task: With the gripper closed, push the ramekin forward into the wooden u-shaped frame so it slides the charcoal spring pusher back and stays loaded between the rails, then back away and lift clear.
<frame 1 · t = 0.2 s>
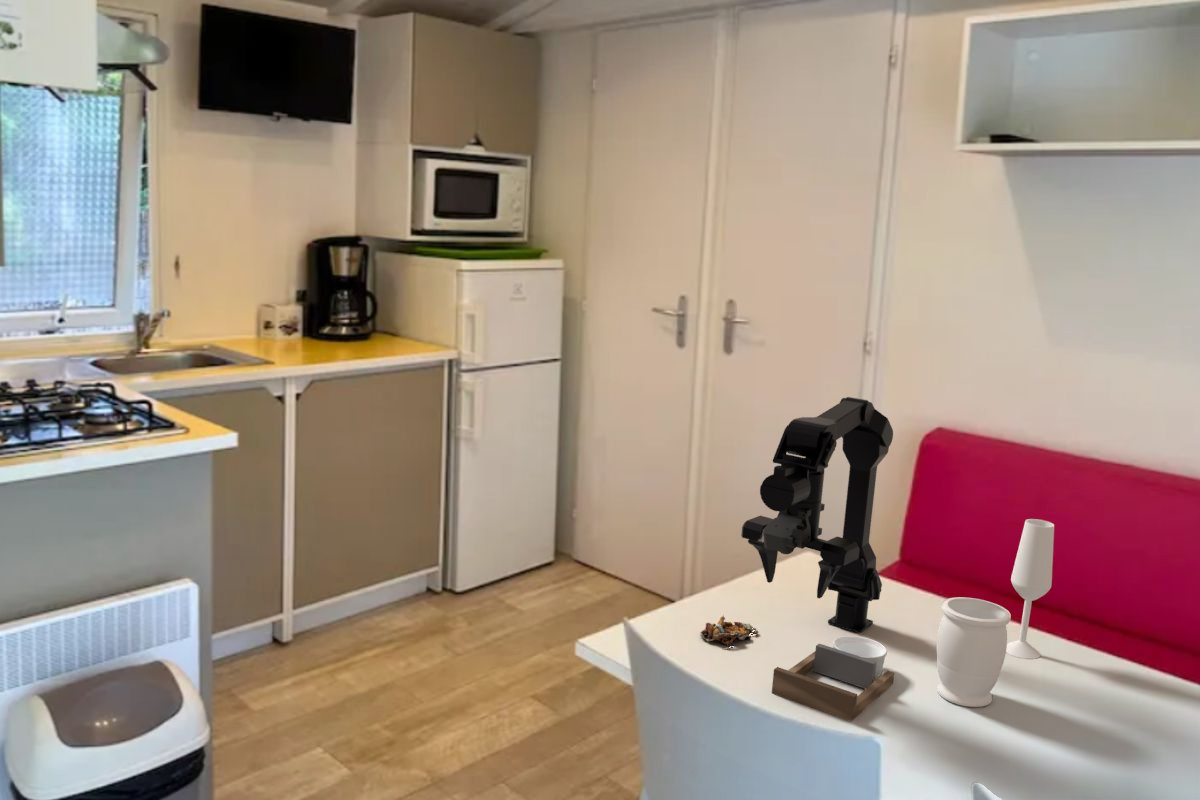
hand: (794, 589, 171), 14 cm above the table, tool pointing down, fingers open, 9 cm apart
jar: (963, 697, 168), on the table
champagne flute: (1020, 651, 188), on the table
wooden u-shaped frame: (835, 687, 169), on the table
grilled meat platter: (729, 638, 187), on the table
ramekin: (857, 671, 176), on the table
pusher: (844, 666, 171), point 3 cm above the table, slide at 0.0 cm
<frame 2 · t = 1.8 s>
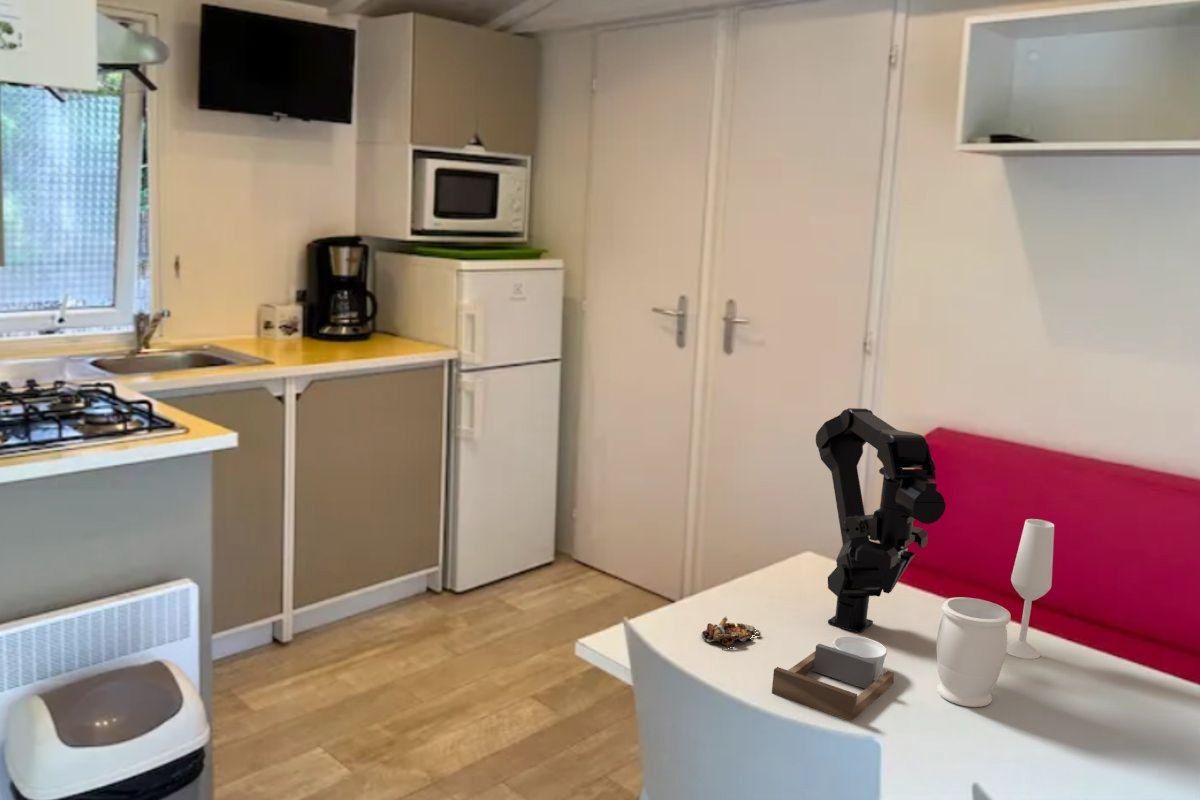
hand: (887, 592, 182), 11 cm above the table, tool pointing down, fingers closed
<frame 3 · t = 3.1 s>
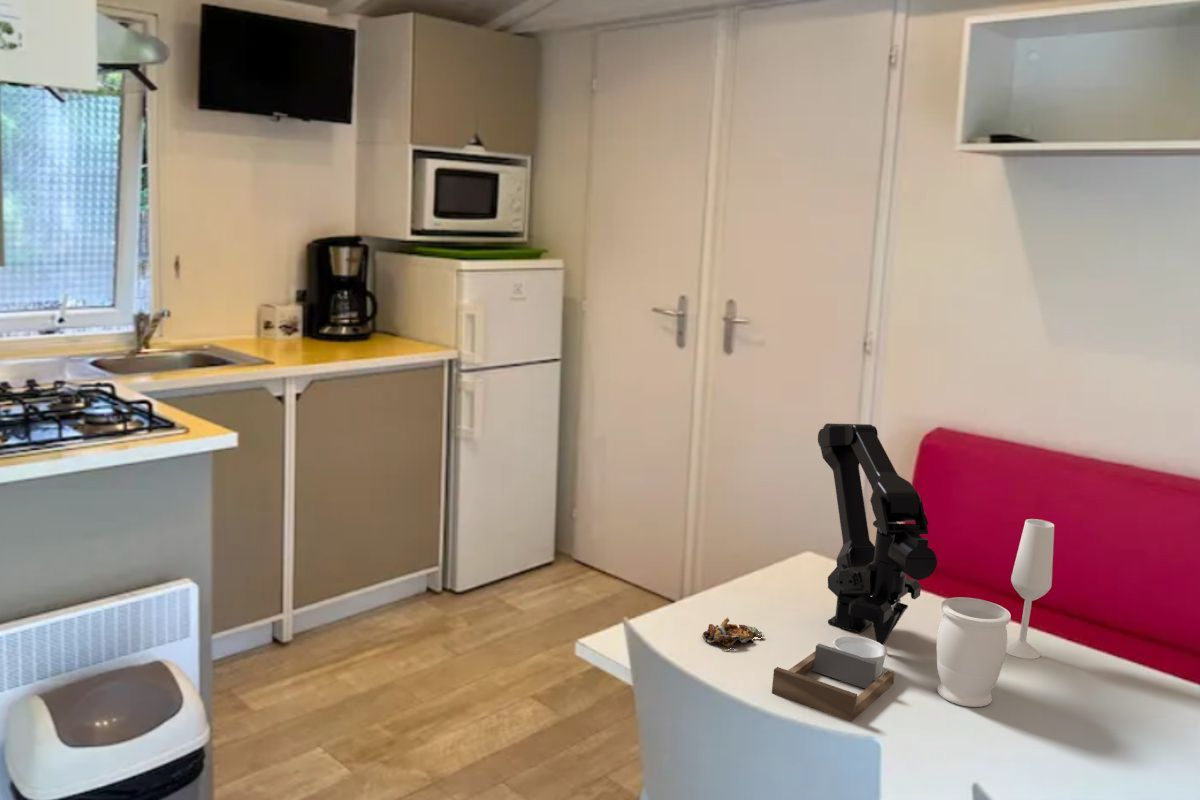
hand: (880, 643, 183), 2 cm above the table, tool pointing down, fingers closed
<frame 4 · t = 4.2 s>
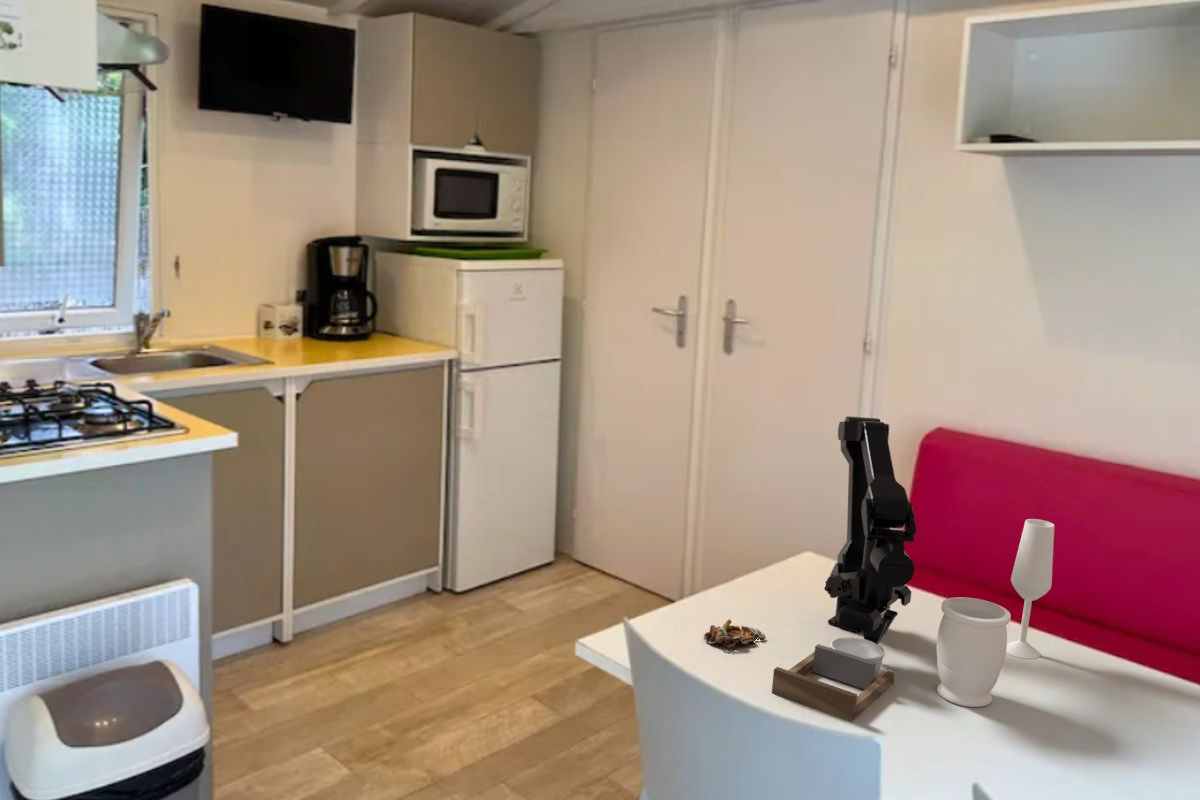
hand: (870, 651, 179), 2 cm above the table, tool pointing down, fingers closed
ramekin: (854, 672, 175), on the table, touching gripper
pusher: (844, 666, 170), point 3 cm above the table, slide at 0.3 cm
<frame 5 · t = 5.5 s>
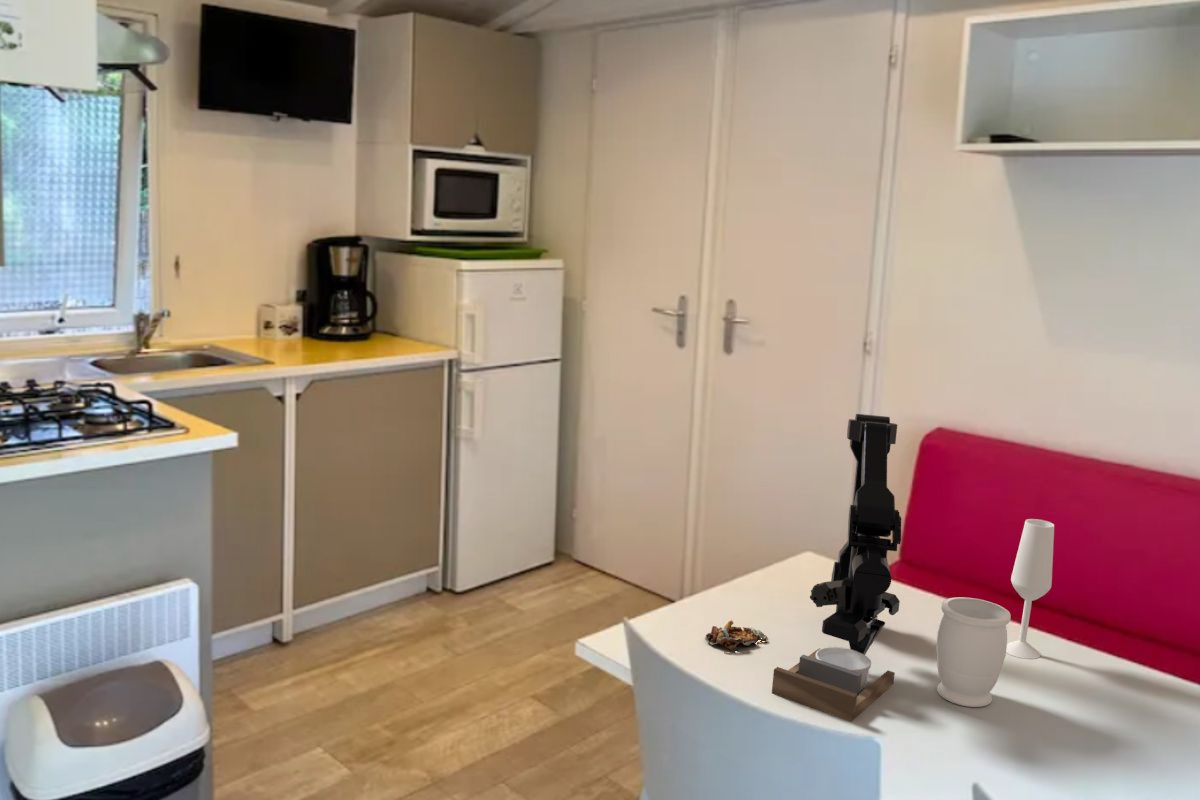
hand: (856, 662, 175), 1 cm above the table, tool pointing down, fingers closed
ramekin: (840, 683, 170), on the table, touching gripper, pusher
pusher: (829, 678, 166), point 3 cm above the table, slide at 6.0 cm, touching ramekin
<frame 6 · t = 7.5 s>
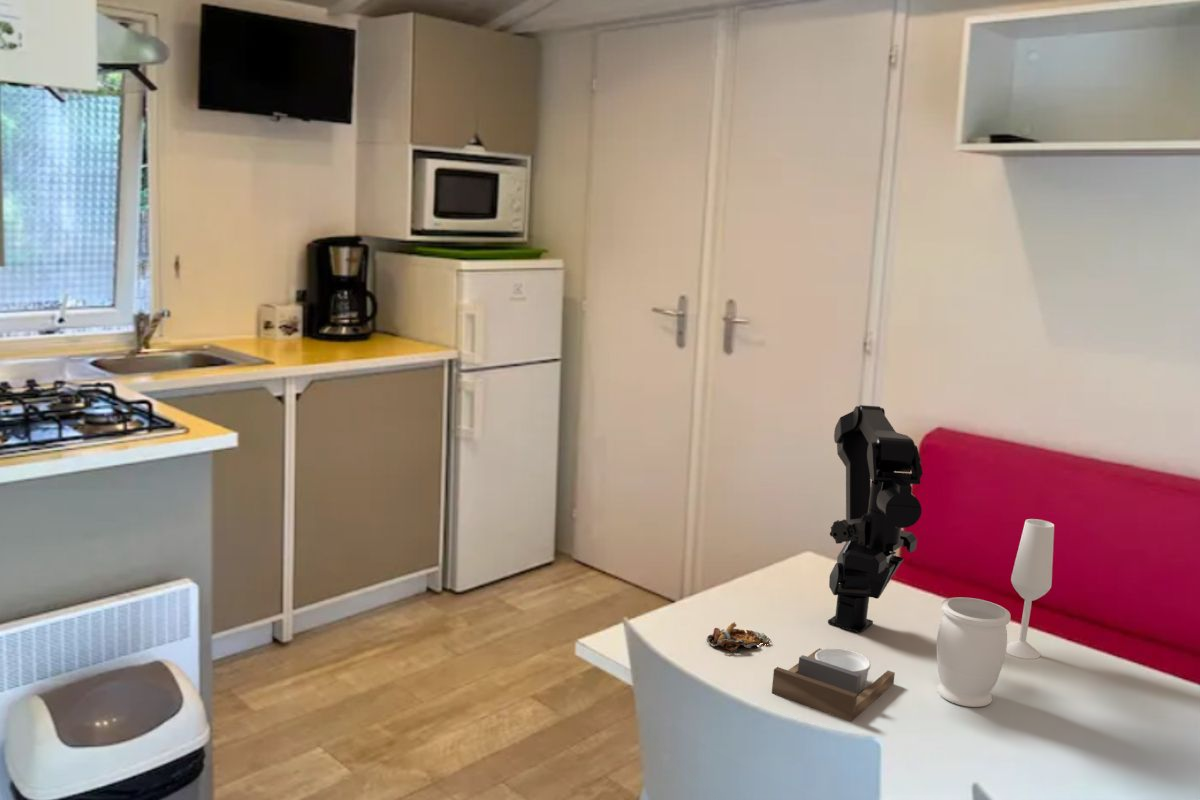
hand: (875, 597, 179), 11 cm above the table, tool pointing down, fingers closed
ramekin: (839, 684, 170), on the table
pusher: (828, 678, 166), point 3 cm above the table, slide at 6.3 cm
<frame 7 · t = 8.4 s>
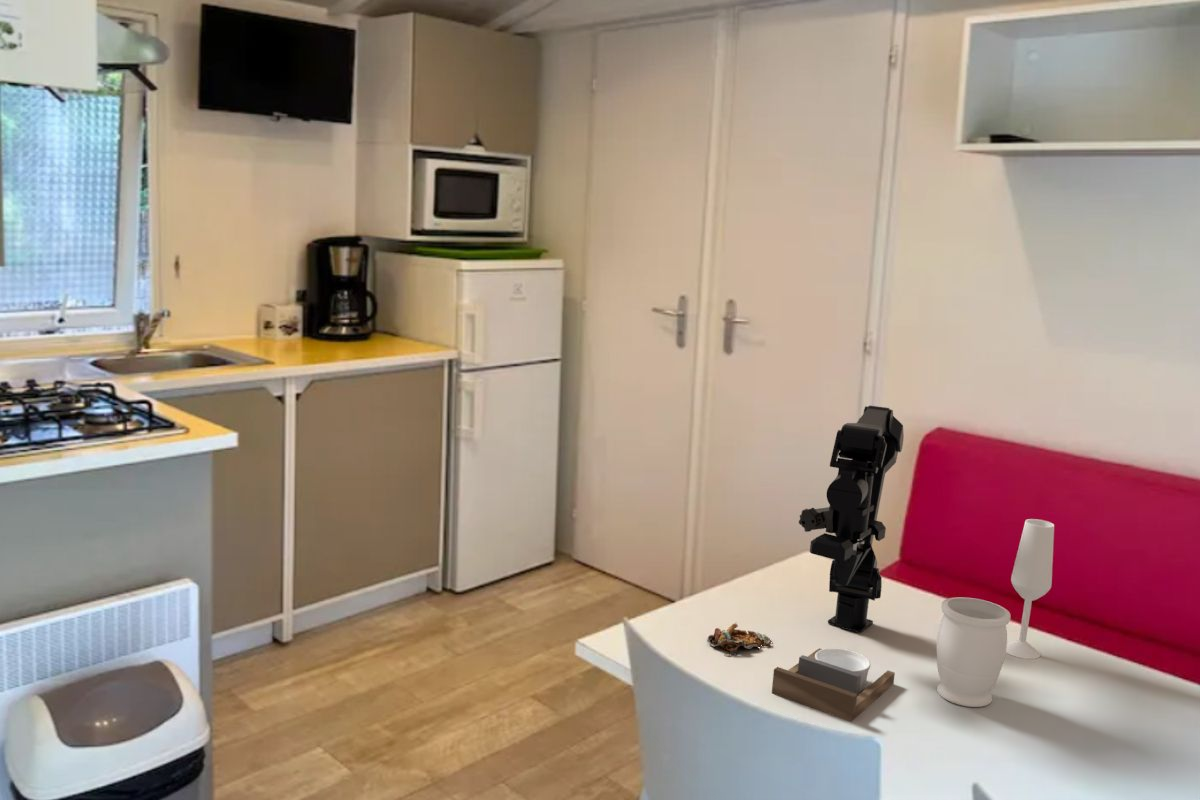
hand: (843, 585, 181), 12 cm above the table, tool pointing down, fingers closed
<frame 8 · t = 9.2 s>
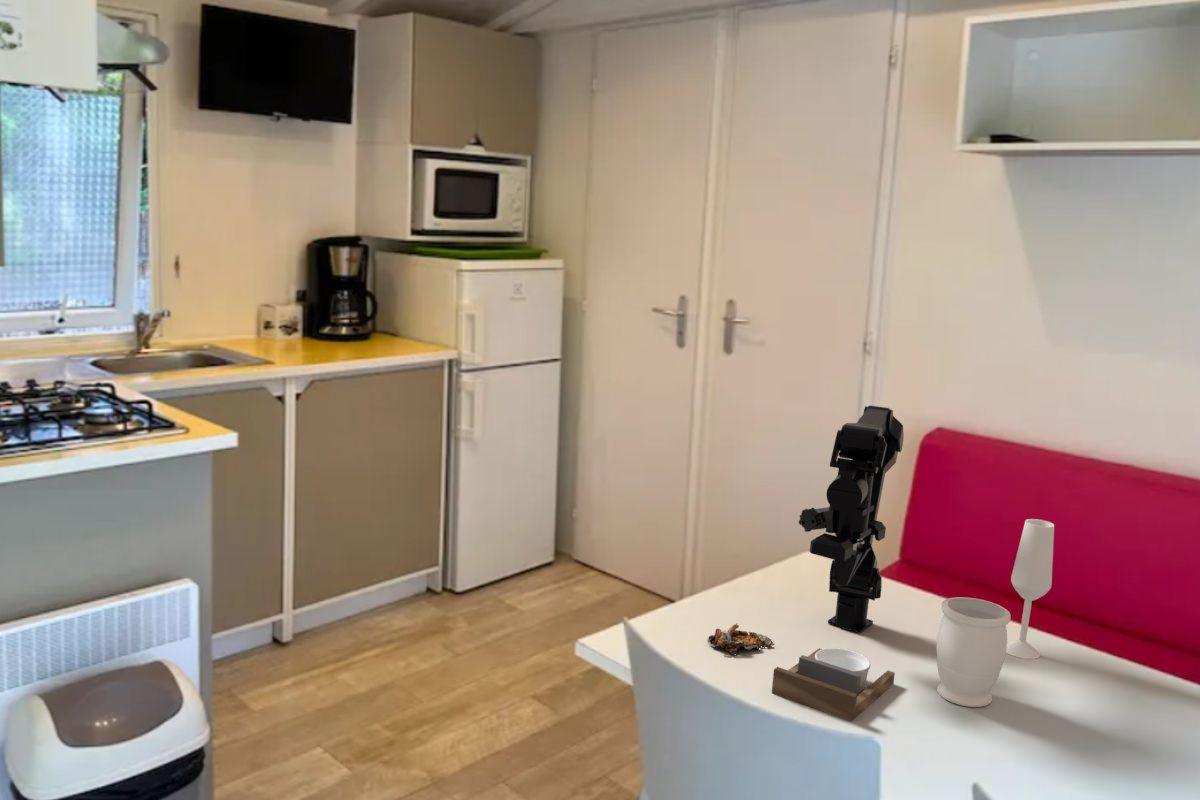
hand: (843, 585, 181), 12 cm above the table, tool pointing down, fingers closed
at the end: ramekin 0.8 cm from the target spot on the wooden u-shaped frame, point 0.0 cm above the wooden u-shaped frame's base; pusher slide at 6.3 cm; ramekin tilted 0° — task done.
